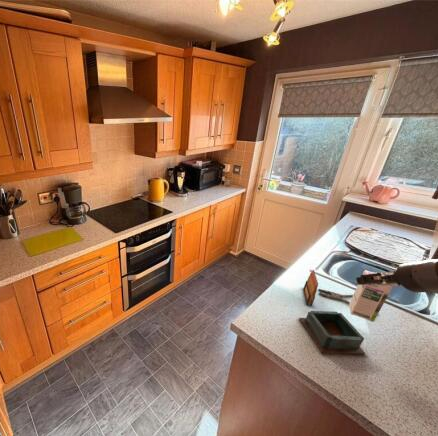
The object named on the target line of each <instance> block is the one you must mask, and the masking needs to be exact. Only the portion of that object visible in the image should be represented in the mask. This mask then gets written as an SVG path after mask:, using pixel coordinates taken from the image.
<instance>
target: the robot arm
mask: <svg viewBox="0 0 438 436" xmlns="http://www.w3.org/2000/svg"><path fill="white" fill-rule="evenodd" d="M374 273H375V274H367V275H363V274H361V275H360V276H358V277H355V281H356V284H357V286H358V285H365V284H369V285H371V284H378V285H380V286H388V285H392V286H393V287H403V288H404V289H406V290H407V291H410V292H412V293H417V294H419V293H438V258H432V259H425V260H419V261H412V262H405V263H402V264H400V265H398V267H396V270H392V271H390V270H389V271H387V272H374ZM382 275H384V276H382ZM383 280H384V281H383ZM383 282H385V283H383Z"/></svg>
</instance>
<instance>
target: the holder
mask: <svg viewBox="0 0 438 436" xmlns="http://www.w3.org/2000/svg"><path fill="white" fill-rule="evenodd" d="M298 321H299V322H300V324H301V325H302V327H303V328H304V330H305V332H306V333H307V334H308V336H309V338H310V339H311V340H312V342H313V343H314V345H315V346H316V348H317V349H318V350H319V352H320V354H323V355H344V356H345V355H346V356H347V355H348V356H349V355H350V356H365V355H366V352H365V351H364V350H363V348H361V345H362V343H363V342H364V340H365V338H364V337H363V335H362V334H361V333H360V332H359V331H358V329H356V327H355V326H353V324H352V323H351V322H350V321H349V319H348V318H346V316H344V314H343V313H342V312H338V311H331V310H310V311H308V312H307V314H306V317H299V319H298Z"/></svg>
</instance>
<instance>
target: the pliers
mask: <svg viewBox="0 0 438 436" xmlns="http://www.w3.org/2000/svg"><path fill="white" fill-rule="evenodd" d="M317 291H318V292H319V293H318V295H320V296H323V297H326V298H329V299H332V300H337V301H340V302H344V303H346V304H349V303H350V301H349V300H347V299H345V298H352V297H353V294H341V293H338V292H334V291H330V290H326V289H321V288H318V289H317Z"/></svg>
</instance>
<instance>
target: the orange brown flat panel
mask: <svg viewBox="0 0 438 436" xmlns="http://www.w3.org/2000/svg"><path fill="white" fill-rule="evenodd" d="M318 287H319V282H318V279H317V275H316V272H315V269H312V271H311V272H310V273H309V275H308V277H307V280H306V281H305V283H304V286H303V288H302V290H303V295H304V300H305V305H306V306H310V307H312V306H313V305H314V301H315V299H316V294H317V291H318Z"/></svg>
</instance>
